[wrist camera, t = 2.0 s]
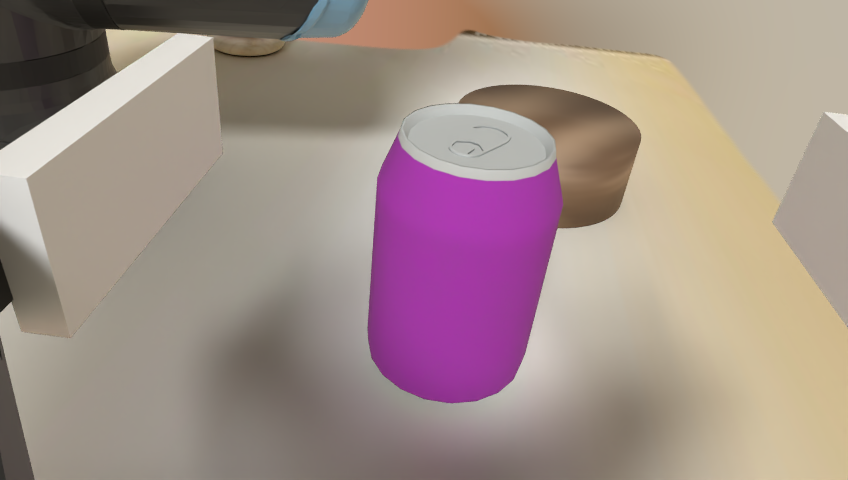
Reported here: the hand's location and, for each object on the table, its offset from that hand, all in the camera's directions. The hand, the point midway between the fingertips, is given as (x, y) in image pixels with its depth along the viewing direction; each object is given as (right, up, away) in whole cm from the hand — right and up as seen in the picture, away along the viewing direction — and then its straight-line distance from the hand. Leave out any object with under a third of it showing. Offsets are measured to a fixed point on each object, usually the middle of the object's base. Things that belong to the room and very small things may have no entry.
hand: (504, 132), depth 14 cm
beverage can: (-1, -8, +18) cm, 20 cm away
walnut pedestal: (+7, +2, +34) cm, 35 cm away
